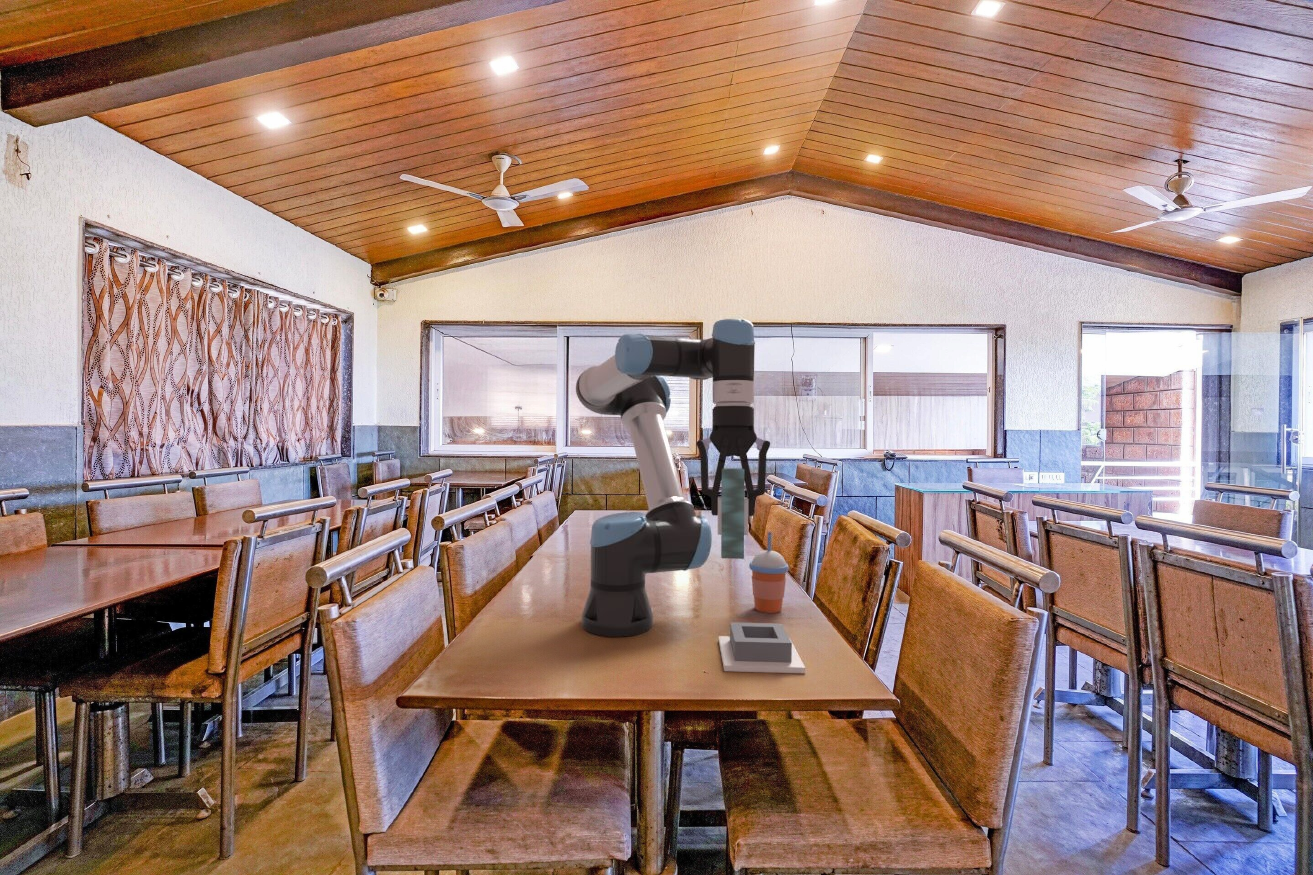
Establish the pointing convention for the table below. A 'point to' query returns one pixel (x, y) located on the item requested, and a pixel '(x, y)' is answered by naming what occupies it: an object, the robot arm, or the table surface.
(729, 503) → the peg
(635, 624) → the robot arm
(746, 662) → the socket block
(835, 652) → the table surface
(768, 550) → the cup with straw
